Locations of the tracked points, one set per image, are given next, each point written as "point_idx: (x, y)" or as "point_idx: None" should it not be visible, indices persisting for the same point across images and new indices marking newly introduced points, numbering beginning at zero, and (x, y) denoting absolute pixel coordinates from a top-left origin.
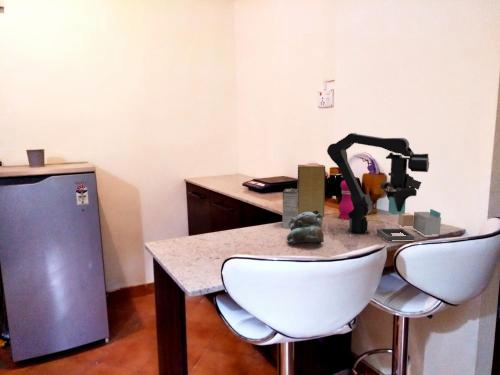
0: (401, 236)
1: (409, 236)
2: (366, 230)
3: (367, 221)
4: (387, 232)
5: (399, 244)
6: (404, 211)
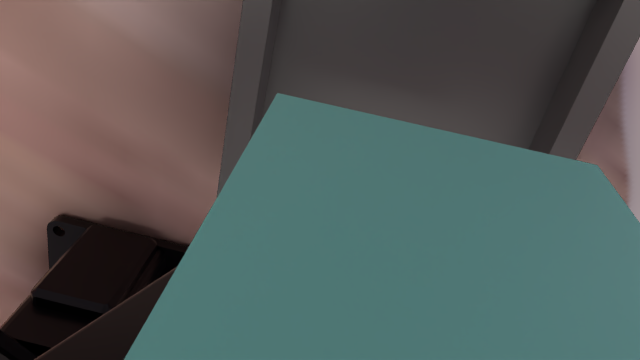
0: (583, 138)
1: (636, 33)
2: (155, 249)
3: (107, 310)
4: (264, 92)
5: (625, 185)
6: (621, 216)
